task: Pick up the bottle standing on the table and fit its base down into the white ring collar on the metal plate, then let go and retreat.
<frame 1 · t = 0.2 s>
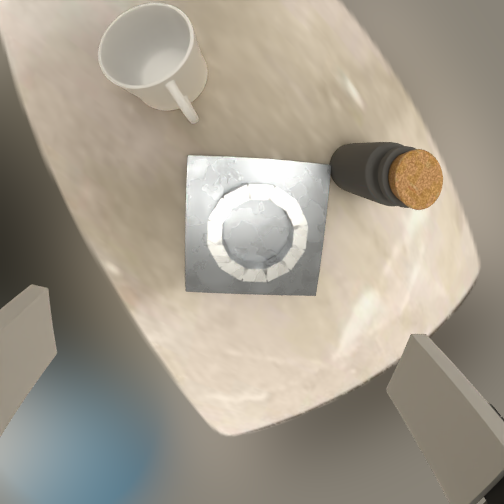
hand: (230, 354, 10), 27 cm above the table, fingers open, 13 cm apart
mug: (176, 87, 32), on the table
collar plate: (255, 227, 37), on the table
bottle: (351, 167, 36), on the table
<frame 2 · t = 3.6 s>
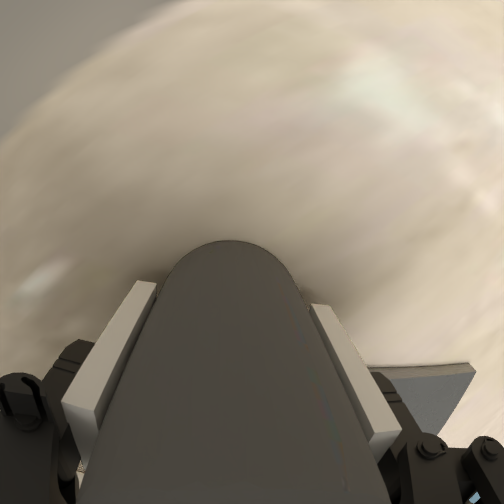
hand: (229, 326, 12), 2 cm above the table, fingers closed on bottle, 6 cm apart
collar plate: (327, 456, 18), on the table
bottle: (229, 302, 14), on the table, touching gripper
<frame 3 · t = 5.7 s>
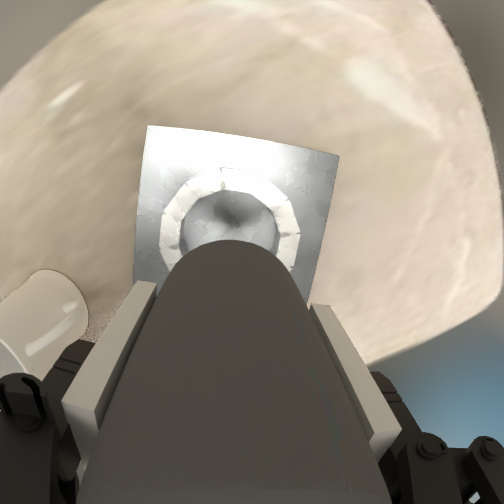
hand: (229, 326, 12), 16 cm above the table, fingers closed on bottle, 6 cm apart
mug: (66, 302, 29), on the table
collar plate: (229, 230, 27), on the table
bottle: (229, 301, 14), point 14 cm above the table, touching gripper
when the fingers open (5 cm above the table, at t = 8.1 s): bottle drops 2 cm, resting on collar plate.
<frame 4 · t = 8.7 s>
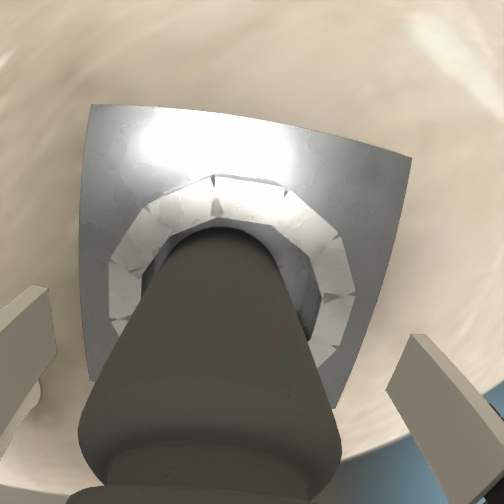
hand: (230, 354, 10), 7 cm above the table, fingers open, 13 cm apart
mug: (11, 362, 18), on the table
collar plate: (230, 278, 16), on the table
bottle: (220, 282, 16), point 1 cm above the table, touching collar plate
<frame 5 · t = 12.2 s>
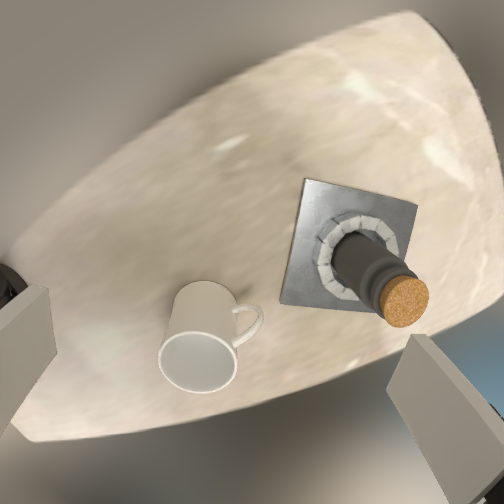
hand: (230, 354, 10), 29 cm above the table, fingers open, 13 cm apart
mug: (216, 305, 41), on the table
collar plate: (350, 251, 40), on the table
bottle: (349, 252, 39), point 1 cm above the table, touching collar plate
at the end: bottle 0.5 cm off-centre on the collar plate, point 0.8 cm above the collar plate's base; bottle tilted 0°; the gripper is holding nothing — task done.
